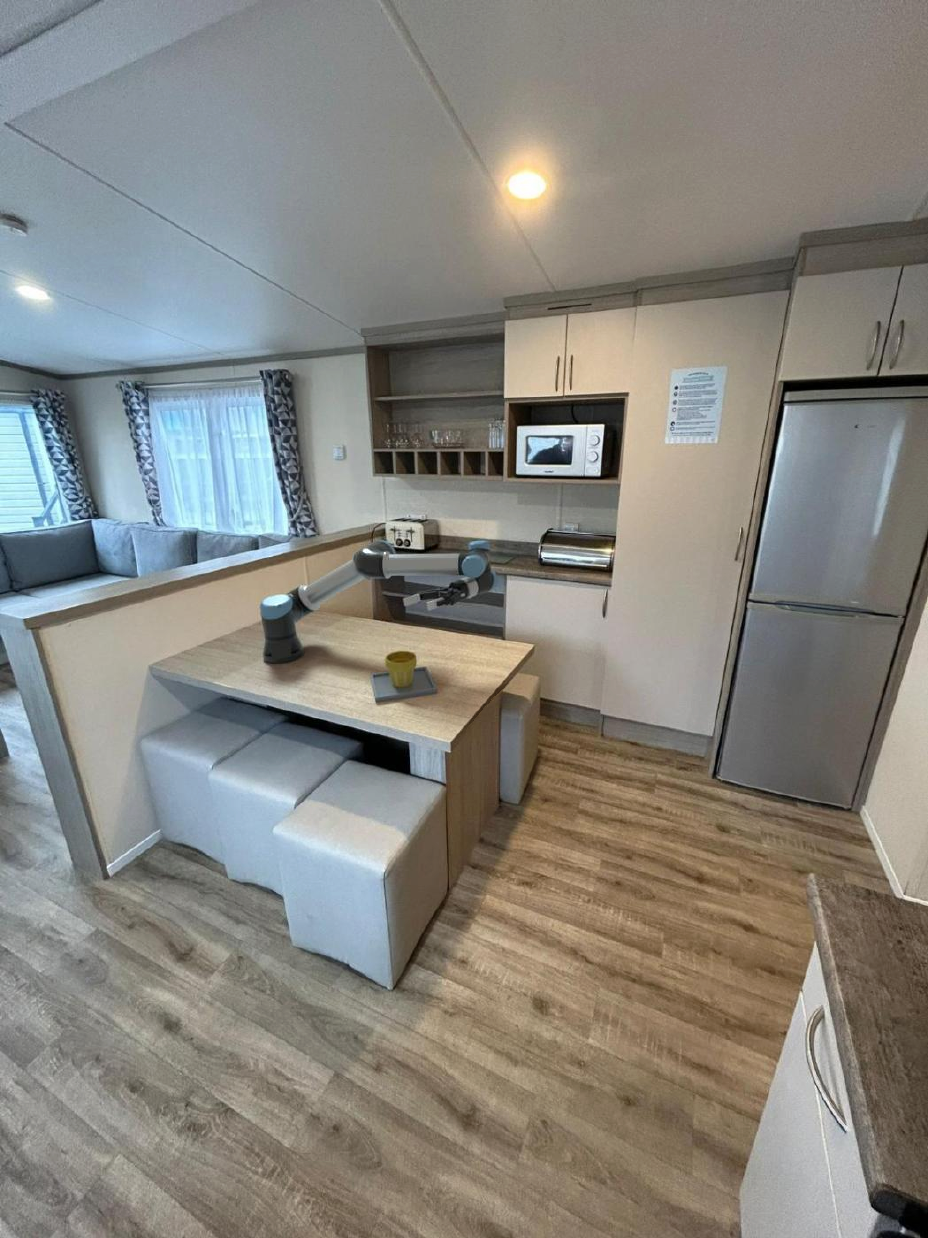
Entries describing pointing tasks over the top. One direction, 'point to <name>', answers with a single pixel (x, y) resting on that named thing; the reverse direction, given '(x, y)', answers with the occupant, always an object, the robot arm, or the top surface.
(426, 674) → the charcoal tray
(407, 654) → the plant pot
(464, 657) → the top surface
